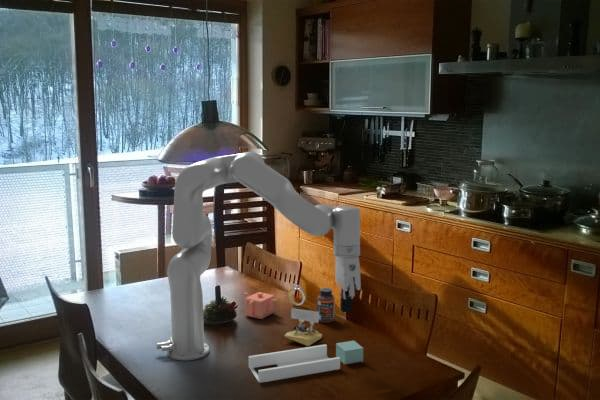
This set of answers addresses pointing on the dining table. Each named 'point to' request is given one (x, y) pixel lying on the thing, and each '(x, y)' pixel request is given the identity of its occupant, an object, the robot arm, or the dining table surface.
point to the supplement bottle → (325, 305)
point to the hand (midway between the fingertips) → (346, 310)
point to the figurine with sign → (304, 327)
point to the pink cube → (259, 305)
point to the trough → (293, 363)
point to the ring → (299, 290)
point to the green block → (349, 352)
